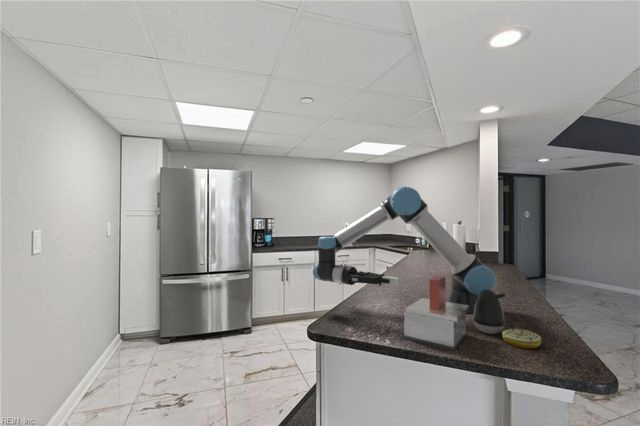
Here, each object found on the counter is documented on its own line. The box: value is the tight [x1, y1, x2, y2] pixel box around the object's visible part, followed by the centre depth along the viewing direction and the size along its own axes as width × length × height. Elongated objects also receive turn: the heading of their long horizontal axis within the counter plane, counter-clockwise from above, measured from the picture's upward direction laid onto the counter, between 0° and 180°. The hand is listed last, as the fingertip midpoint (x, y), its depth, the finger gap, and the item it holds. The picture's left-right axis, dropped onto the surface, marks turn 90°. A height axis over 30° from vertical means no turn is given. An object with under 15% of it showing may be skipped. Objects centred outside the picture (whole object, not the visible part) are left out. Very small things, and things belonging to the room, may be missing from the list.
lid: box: [404, 275, 469, 322], centre depth 107 cm, size 17×17×11 cm
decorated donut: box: [501, 328, 542, 350], centre depth 101 cm, size 10×11×4 cm
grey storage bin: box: [403, 311, 467, 351], centre depth 107 cm, size 16×16×9 cm
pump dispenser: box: [472, 289, 506, 335], centre depth 111 cm, size 10×10×15 cm
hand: (398, 282), depth 115 cm, fingers closed
